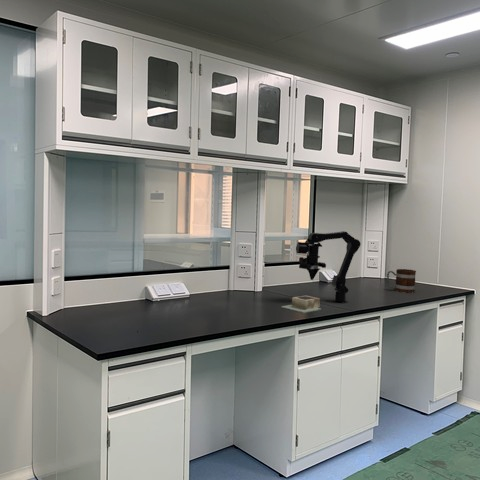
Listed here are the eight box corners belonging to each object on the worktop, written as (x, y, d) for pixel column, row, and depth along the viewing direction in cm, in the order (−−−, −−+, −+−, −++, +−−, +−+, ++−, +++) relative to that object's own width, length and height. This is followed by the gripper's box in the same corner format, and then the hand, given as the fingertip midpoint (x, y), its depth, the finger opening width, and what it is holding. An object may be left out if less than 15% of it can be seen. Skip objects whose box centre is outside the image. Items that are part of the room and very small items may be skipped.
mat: (299, 304, 274) (299, 303, 274) (321, 309, 262) (321, 308, 262) (281, 307, 264) (281, 306, 264) (303, 312, 252) (303, 312, 252)
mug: (412, 290, 339) (413, 269, 338) (417, 293, 326) (418, 272, 325) (384, 288, 341) (385, 268, 340) (388, 292, 328) (389, 270, 327)
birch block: (306, 295, 272) (292, 297, 264) (319, 298, 265) (306, 300, 257) (305, 304, 273) (291, 306, 265) (319, 307, 265) (305, 309, 257)
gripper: (312, 252, 293) (311, 276, 295) (292, 252, 281) (291, 278, 282) (327, 254, 285) (325, 279, 286) (307, 255, 273) (305, 281, 274)
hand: (311, 279), depth 282 cm, fingers closed
